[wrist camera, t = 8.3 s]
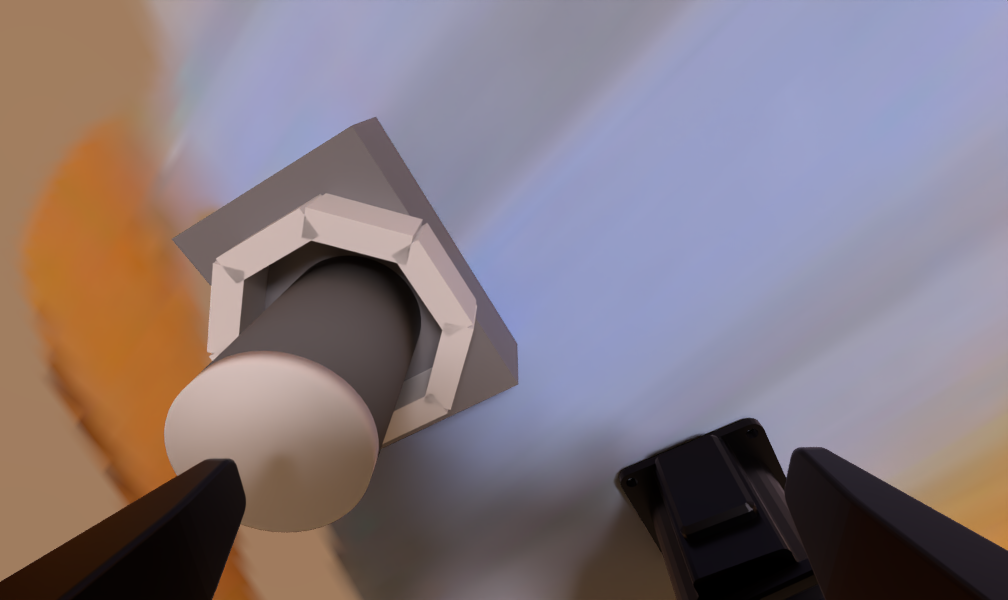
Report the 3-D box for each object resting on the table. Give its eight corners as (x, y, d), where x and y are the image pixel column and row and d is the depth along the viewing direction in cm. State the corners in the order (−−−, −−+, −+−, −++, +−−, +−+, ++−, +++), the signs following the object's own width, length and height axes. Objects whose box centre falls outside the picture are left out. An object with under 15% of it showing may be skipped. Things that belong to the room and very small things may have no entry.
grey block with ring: (525, 340, 22) (528, 410, 17) (368, 416, 23) (334, 498, 19) (384, 111, 18) (344, 125, 14) (211, 219, 20) (126, 263, 15)
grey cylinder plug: (417, 256, 17) (362, 366, 11) (424, 375, 19) (380, 533, 12) (279, 254, 17) (141, 363, 11) (298, 374, 19) (189, 530, 12)
